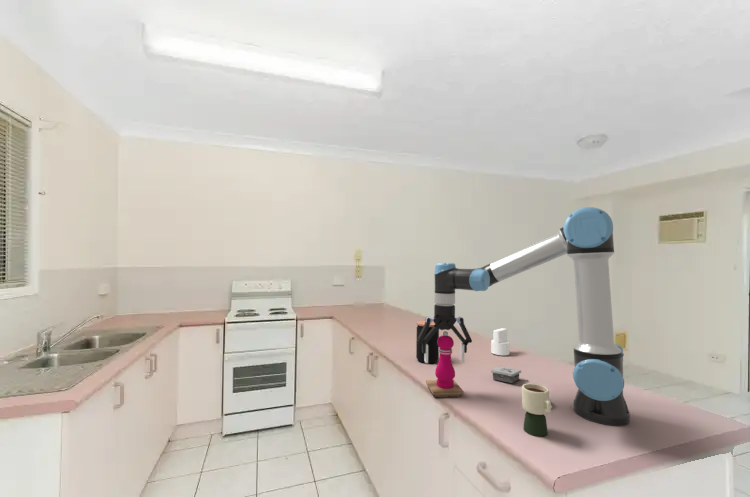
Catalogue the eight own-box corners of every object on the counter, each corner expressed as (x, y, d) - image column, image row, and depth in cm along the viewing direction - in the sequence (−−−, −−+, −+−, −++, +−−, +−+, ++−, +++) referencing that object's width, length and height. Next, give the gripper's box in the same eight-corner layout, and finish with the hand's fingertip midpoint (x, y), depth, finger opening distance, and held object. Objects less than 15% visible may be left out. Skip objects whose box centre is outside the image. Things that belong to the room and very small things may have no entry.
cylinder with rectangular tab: (496, 349, 184) (497, 327, 185) (512, 353, 178) (512, 330, 178) (487, 352, 179) (487, 329, 179) (503, 356, 172) (503, 332, 172)
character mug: (560, 441, 94) (560, 394, 94) (539, 445, 92) (539, 396, 92) (531, 422, 104) (532, 379, 105) (512, 425, 102) (512, 382, 102)
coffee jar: (442, 359, 166) (442, 322, 166) (433, 365, 157) (433, 325, 157) (421, 355, 172) (422, 319, 172) (412, 361, 163) (412, 323, 163)
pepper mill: (459, 387, 125) (459, 332, 125) (442, 390, 122) (442, 334, 122) (447, 380, 131) (448, 328, 131) (431, 383, 129) (431, 329, 129)
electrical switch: (513, 374, 133) (490, 365, 140) (511, 387, 133) (488, 378, 140) (522, 370, 140) (500, 362, 146) (520, 382, 140) (498, 374, 147)
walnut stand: (463, 398, 121) (463, 391, 121) (433, 399, 121) (433, 391, 121) (453, 386, 132) (453, 379, 132) (425, 386, 131) (425, 380, 132)
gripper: (473, 302, 132) (473, 358, 131) (409, 302, 130) (409, 359, 129) (481, 305, 124) (480, 364, 124) (413, 305, 122) (412, 365, 122)
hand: (444, 361), depth 127 cm, fingers open, 13 cm apart
